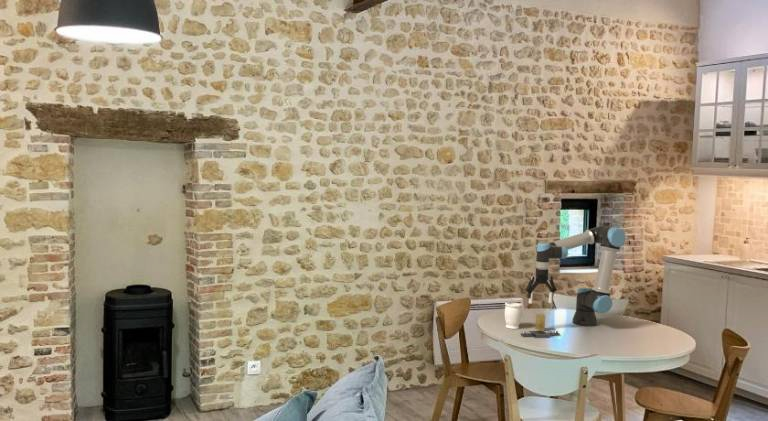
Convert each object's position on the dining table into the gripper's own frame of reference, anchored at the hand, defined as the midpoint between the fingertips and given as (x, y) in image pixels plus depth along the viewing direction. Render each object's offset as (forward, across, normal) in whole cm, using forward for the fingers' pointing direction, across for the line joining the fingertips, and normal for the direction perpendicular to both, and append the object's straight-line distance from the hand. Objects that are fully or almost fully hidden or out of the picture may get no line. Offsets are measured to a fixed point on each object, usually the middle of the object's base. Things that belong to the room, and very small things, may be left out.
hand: (540, 303), depth 408 cm
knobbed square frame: (+17, +7, +12) cm, 22 cm away
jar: (+17, +13, -9) cm, 24 cm away
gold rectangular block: (+17, -1, 0) cm, 17 cm away
